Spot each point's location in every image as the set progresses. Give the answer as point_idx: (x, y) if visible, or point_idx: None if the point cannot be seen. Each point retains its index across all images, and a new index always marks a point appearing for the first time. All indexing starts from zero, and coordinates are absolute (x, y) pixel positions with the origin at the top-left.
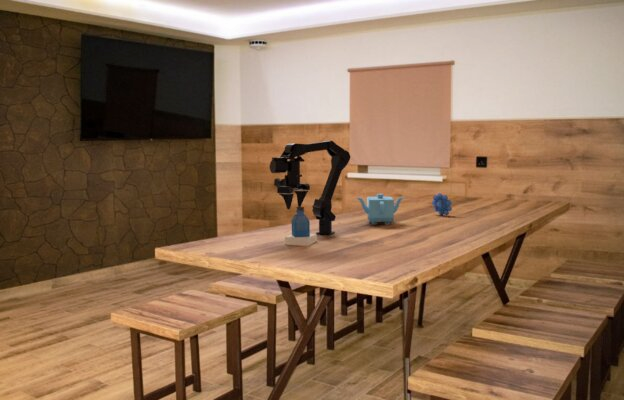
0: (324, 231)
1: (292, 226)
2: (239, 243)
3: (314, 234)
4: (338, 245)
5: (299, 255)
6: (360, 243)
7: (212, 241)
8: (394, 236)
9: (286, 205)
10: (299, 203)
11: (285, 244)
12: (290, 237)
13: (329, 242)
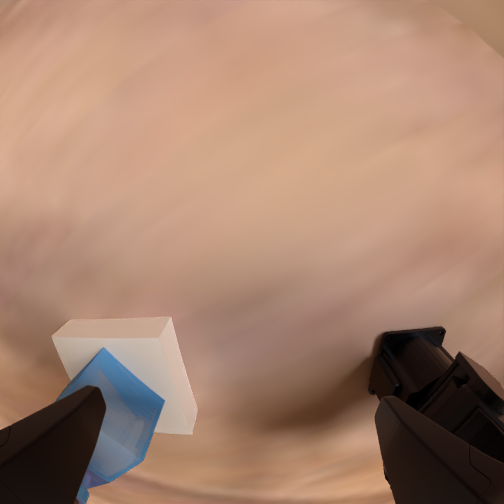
0: (373, 387)
1: (71, 385)
2: (8, 118)
3: (179, 430)
4: (178, 470)
5: (18, 405)
6: (243, 497)
7: (25, 9)
8: (378, 500)
9: (53, 408)
10: (391, 441)
11: (70, 320)
12: (62, 360)
13: (209, 446)
